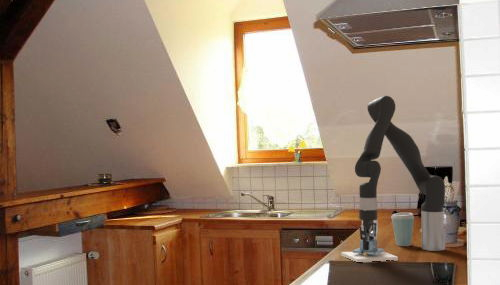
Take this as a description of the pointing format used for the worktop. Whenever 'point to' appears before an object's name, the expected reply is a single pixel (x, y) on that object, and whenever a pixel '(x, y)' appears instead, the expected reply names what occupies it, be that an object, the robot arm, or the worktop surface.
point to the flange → (372, 248)
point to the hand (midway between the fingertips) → (368, 248)
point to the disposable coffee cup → (403, 228)
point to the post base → (369, 256)
